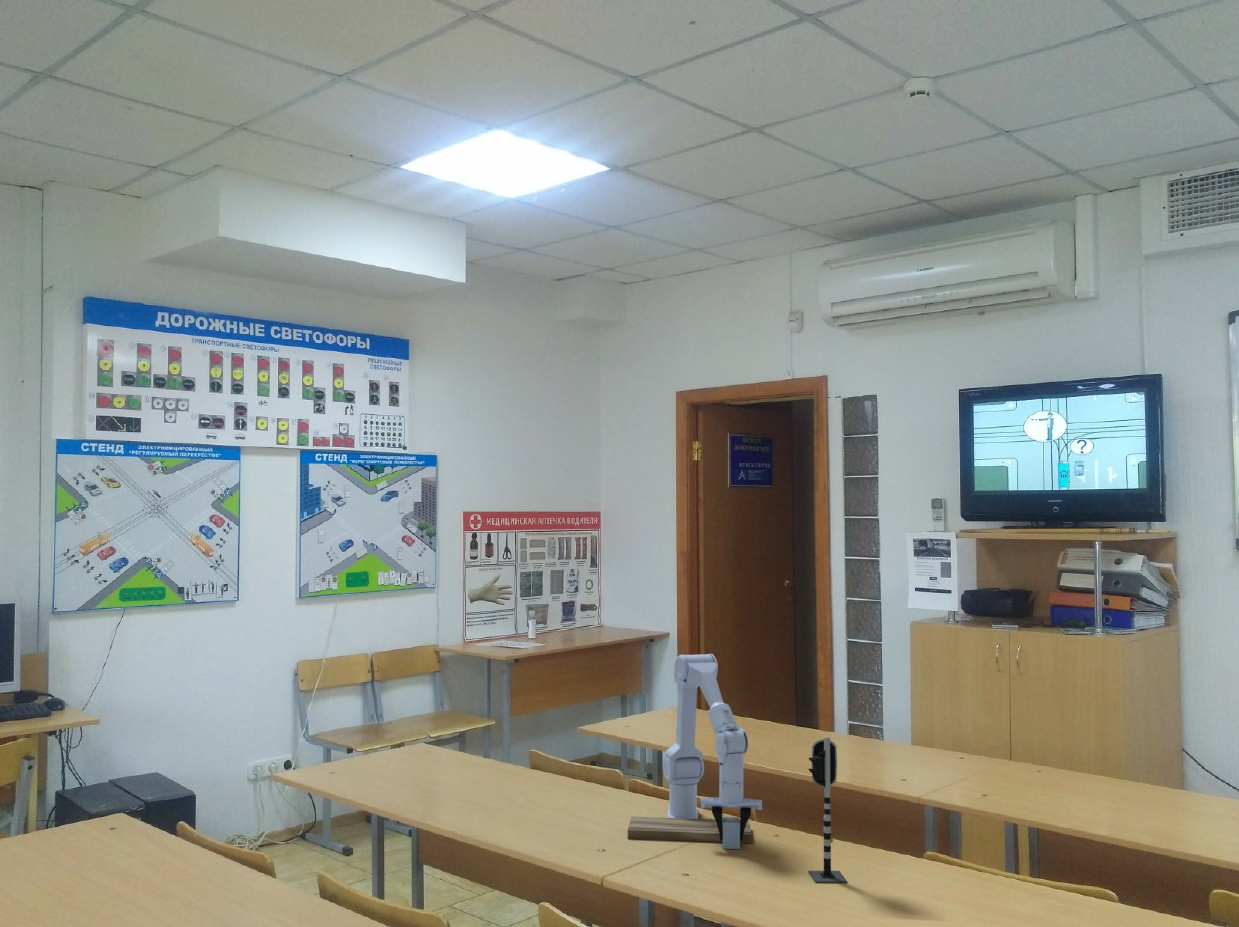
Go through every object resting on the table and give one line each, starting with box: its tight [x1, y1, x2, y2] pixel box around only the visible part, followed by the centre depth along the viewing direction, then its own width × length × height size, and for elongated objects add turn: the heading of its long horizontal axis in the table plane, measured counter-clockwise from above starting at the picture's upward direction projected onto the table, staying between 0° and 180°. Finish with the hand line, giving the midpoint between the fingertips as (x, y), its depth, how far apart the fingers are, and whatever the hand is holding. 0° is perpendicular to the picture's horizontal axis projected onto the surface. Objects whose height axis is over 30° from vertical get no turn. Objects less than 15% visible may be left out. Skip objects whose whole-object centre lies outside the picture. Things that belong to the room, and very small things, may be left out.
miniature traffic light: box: [807, 736, 848, 884], centre depth 219 cm, size 8×8×30 cm
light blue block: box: [721, 816, 741, 850], centre depth 241 cm, size 8×4×6 cm, turn 175°
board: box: [627, 816, 753, 844], centre depth 249 cm, size 12×30×2 cm, turn 85°
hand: (731, 839), depth 239 cm, fingers closed on light blue block, 4 cm apart
